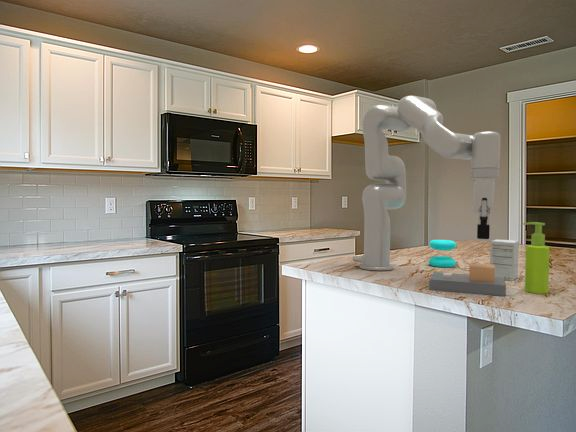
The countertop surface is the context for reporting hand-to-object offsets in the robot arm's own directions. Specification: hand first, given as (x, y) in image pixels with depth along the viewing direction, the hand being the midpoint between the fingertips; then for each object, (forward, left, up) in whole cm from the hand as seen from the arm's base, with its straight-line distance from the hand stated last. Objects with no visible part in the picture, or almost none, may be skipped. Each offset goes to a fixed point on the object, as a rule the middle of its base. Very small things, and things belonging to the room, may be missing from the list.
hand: (483, 237), depth 129 cm
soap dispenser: (+14, +4, -15) cm, 21 cm away
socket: (-4, 0, -15) cm, 16 cm away
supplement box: (+7, +24, -15) cm, 29 cm away
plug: (0, 0, -15) cm, 15 cm away
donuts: (-14, +42, -15) cm, 47 cm away
